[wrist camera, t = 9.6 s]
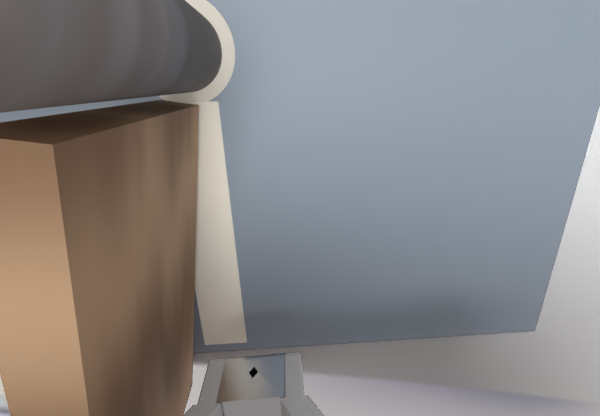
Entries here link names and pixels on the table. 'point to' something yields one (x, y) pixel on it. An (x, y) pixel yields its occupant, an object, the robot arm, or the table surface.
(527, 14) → the card
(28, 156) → the swing panel
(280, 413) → the robot arm
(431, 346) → the table surface
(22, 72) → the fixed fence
